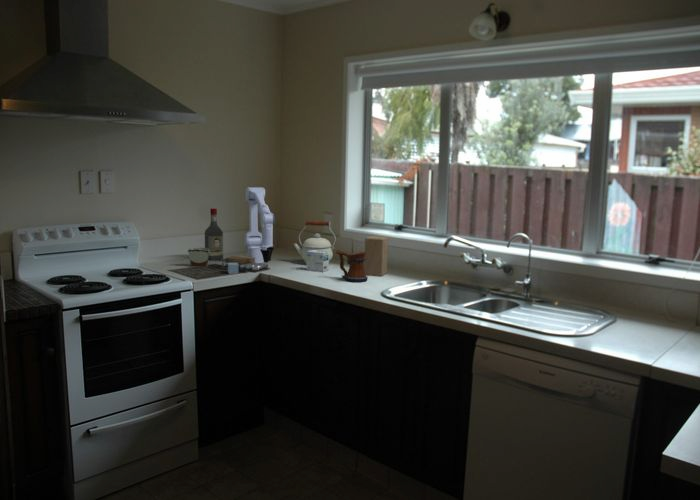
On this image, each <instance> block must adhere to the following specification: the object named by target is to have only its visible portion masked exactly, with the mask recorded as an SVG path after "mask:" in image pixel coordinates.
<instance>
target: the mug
mask: <svg viewBox="0 0 700 500" xmlns="http://www.w3.org/2000/svg"><path fill="white" fill-rule="evenodd" d="M336 254H337V255H339V260H340V263H339V269H340V270H341V271H343V274H342V275H341V278H342V279H344V280H345V281H346V282H351V283H366V282H367V281H368V279H369V278H368V275H366V273H365V270H364V260H365V254H366V252H365V251H359V252H353V253H349V254H348V253H346V252H343V251H342V250H339V249H337V250H336ZM344 256H345V257H347V259H346V263H347V264H348V267H349V268H348V270H347V269H346V268H345V259H344Z"/></svg>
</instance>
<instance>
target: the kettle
mask: <svg viewBox="0 0 700 500" xmlns="http://www.w3.org/2000/svg"><path fill="white" fill-rule="evenodd" d="M307 226H320V227H322V226H323V227H324V226H326V227H328V228H329V231H330V232H331V233H332V235H333V236H334V241H333V244H331V242H330V240H329V239H327V238H324V237H321V234H320V233H318V232H317V233H315V234H314V235H313V237H310V238H307V239H306V240H304V241H303V244H302V241H301V234H302V233H303V232H304V231H305V229H306V228H307ZM298 240H299V244H300V245H298V244H297V243H293V246H294V247H295V249H296V252H297V253H298V254H299V255H300V256H301V258H302V260H303V261H304V264H305V265H307V251H310V250H319V251H329V262H330V261H331V260H332V258H333V255H334V254H333V250H334V249H335V247H334V246H335V243H336V241H337V237H336V235H335V233H334V231H332V229H331V221H324V220H323V221H319V220H318V221H317V220H315V221H314V220H304V228H302V230H301V231H300V233H299V235H298Z"/></svg>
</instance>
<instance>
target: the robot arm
mask: <svg viewBox="0 0 700 500" xmlns="http://www.w3.org/2000/svg"><path fill="white" fill-rule="evenodd" d="M265 198H266V189H265V188H264V187H261V186H260V187H255V186H253V187H249V186H248V187H246V189H245V201H246V203H247V202H248V208H249V209H248V217H249V219H248V221H249V225H248V227H249V228H248V229H249V230H248V231H247V232H246V233H245V234H244V239H243V244H244V247H245V248H246V250H247V251H246V253H247V254H246V256H247V257H255V262H256V263H262V264H265V263H267V264H268V263H269V262H271V259H272V254H273V251H274V250H275V247H274V244H273V243H274V242H273V240H274V239H273V238H274V237H273V235H274V234H273V233H274V231H273V230H274V229H273V228H274V227H273V226H274V224H275V215H274V213H272V212H271V210H270V208H269V206H268V204H266V202H265ZM258 215H259V216H260V218H258V217H259V216H258ZM258 219H259V220H260V228H261V232H259V225H258V224H259V223H258V222H259V220H258Z"/></svg>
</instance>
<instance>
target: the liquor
mask: <svg viewBox="0 0 700 500" xmlns="http://www.w3.org/2000/svg"><path fill="white" fill-rule="evenodd" d="M217 214H218V209H217V208H213V207H212V208H210V223H209V226H208V227H206V229H205V231H204V248H208V249H209V251H210V253H209V255H208V261H211V260H214V261H222V260H223V259H224V232H223V230H222V229H221V227H219V225H218V222H217V221H218V219H217V217H218V216H217ZM221 259H222V260H221Z"/></svg>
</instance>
